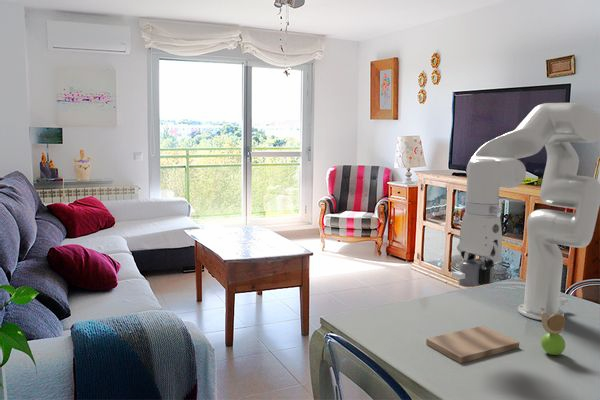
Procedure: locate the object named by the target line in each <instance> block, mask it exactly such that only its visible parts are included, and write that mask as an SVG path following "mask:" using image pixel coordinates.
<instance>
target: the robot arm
mask: <svg viewBox="0 0 600 400" xmlns="http://www.w3.org/2000/svg"><path fill="white" fill-rule="evenodd" d="M599 140H600V113H599V112H598V111H597V110H595V109H593V108H591V107H588V106H587V105H584V104H582V103H579V102H545V103H541V104H538V105H536V106H534V108H532V110H531V111H530V112H529V113H528V114H527V115H526V116H525V118H523V120H522V121H521V122H520V123H519V124H518V125H517V127H516V128H514V130H512V131H508V132H506V133H504V134H501V135H499V136H497V137H495V138H492V139H491V140H489V141H487V142H485V143H484V144H483V145H481V146H480V147H479V148H478V149H477V150H476V151H475V153H474V154H473V155H472V156H471V157H470V159H469V161H468V163H467V165H466V170H465V171H466V172H465V174H466V179H467V180H466V194H465V195H466V196H465V207H464V208H465V211H464V213H463V216H462V220H461V225H460V232H459V241H458V244H457V246H456V250H457V251H458V252H459V254H460V256H461V258H462V259H463V260H462V261H465V260H472V259H476V256H478V257H480V258H481V268H482V269H479V285H480V286H485V285H488V284H489V282H490V269H491V268H493V266H494V267H495V265H497V264H498V263H501V262H503V260H504V259H503V257H502V251H503V233H502V232H503V231H502V221H501V217H500V216H499V215H498V214H499V213H500V212H501V209H500V208H499V199H500V198H499V195H500V188H503V189H504V188H505V189H513V188H517V187H519V186H520V185H521V184H522V183H523V182H524V181H525V178H526V175H527V169H526V166H525V164H524V162H522V161H521V160H520V159H522V158H523V159H524V158H527V157H531V156H534V155H536V154H538V153H539V152H540V151H541V150H542V149H543V148H544V147H545V151H546V157H547V158H546V165H545V167H544V173H543V176H542V177H543V178H542V180H541V181H542V182H541V184H540V186H541V187H540V191H539V199H540V200H541V202H542V203H543V204H546V205H548V206H552V207H558V208H567V209H574V210H575V212H568V211H563V210H554V209H546V208H545V209H544V208H541V209H539V208H538V209H535V210H534V211H531V213H529V215H528V216H527V219H526V232H527V242H528V243H527V244H528V245H527V261H526V274H525V284H524V285H525V286H524V287H525V288H524V298H523V303H521V304H519V305H518V306H517V311H518V313H520V315H522V316H524V317H527V318H530V319H533V320H537V321H542V317H541V313H542V312H545V313H547V317H546V318H547V319H548V318H549V317H550V316H551V315H553V314H560V315H562V316H563V317H564V318H565V313H564V311H563V310H562V309H561V307H562V306H565V305H566V306H567V305H568V304H569V301H568V299H567V298H561V297H560V296H561V288H562V276H563V268H564V267H563V266H564V265H563V264H564V257H563V253H562V251H561V249H560V247H559V246H560V245H561V246H566V247H570V248H571V247H572V248H581V249H582V248H586V247H587V246H588V245H590V243H591V241H592V239H593V236H594V232H595V228H596V223H597V219H598V214H599V210H600V181H599V180H598V179H596V178H595V177H592V176H585V175H577V174H578V169H579V165H580V158H579V155H578V153H577V151H576V150H575V148H574V147H573V145H572V144H571V143H581V144H582V143H583V144H584V143H585V144H593V143H596V142H598V141H599ZM486 259H487V261H488V262H486ZM484 284H485V285H484ZM489 285H490V284H489ZM541 307H543V308H544V309H545V310H544V311H543V310H542V309H541Z"/></svg>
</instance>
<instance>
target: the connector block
mask: <svg viewBox="0 0 600 400" xmlns="http://www.w3.org/2000/svg"><path fill="white" fill-rule="evenodd" d="M486 262H488V261H487V259H486ZM479 269H482V268H481V257H480V258H479V257H478V258H475V259H472V260H465V261H463V260H460V261H459V270H457V271H452V272H451V277H452V278H454V279H456V280H458V285H459V286H461V287H467V288H474V287H479V286H481V285H479ZM494 272H495V265H494V266H493V268H491V269H490V282H489V285H490V284H493V283H494ZM485 285H486V284H484V285H483V286H485Z"/></svg>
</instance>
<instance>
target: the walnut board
mask: <svg viewBox="0 0 600 400" xmlns="http://www.w3.org/2000/svg"><path fill="white" fill-rule="evenodd" d="M425 341H426V342H425V344H426V345H427V346H429V347H430V348H432V349H434V350H435V351H438V352H440V353H441V354H442V355H445V356H446V357H449V358H450V359H451V360H453V361H455V362H457V363H459V364H463V363H467V362H471V361H474V360H478V359H482V358H485V357H489V356H493V355H496V354H500V353H504V352H509V351H511V350H516V349H519V348H520V341H517V340H516V339H514V338H511V337H509V336H507V335H505V334H502V333H500V332H498V331H496V330H493V329H492V328H489V327H487V326H484V325H481V326H475V327H471V328H468V329H462V330H458V331H453V332H450V333H445V334H441V335H436V336H432V337H427V338H426V340H425Z"/></svg>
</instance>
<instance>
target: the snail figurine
mask: <svg viewBox="0 0 600 400" xmlns="http://www.w3.org/2000/svg"><path fill="white" fill-rule="evenodd" d="M541 309H542V310H543V311H544V310H545V309H544V308H543V307H541ZM541 317H542V320H541V323H542V327H543V329H544V331H545V332H546V333H545V334H544V335H543V336H542V337H541V339H540V345H541V348H542V349H543V351H544V352H545V353H546V354H549V355H551V356H558V355H560V354H562V353H564V351H565V350H566V341H565V339H564V337H563V336H562V335H561V333H563V332H564V331H565V326H566V319H565V318H566V317H565V316H564V317H563V316H562V315H560V314H553V315H551V316H550V317H549V318H548V319H547V318H546V317H547V313H545V312H542V313H541Z"/></svg>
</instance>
